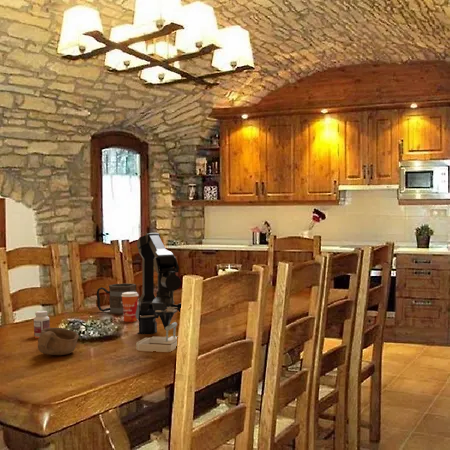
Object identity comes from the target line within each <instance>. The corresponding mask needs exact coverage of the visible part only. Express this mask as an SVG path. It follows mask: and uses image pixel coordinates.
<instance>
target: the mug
mask: <svg viewBox="0 0 450 450" xmlns="http://www.w3.org/2000/svg"><path fill="white" fill-rule="evenodd" d="M108 287H109V290H107V289H106V288H105V287H102V286H101V287H99V288H97V291H96V302H97V308H98V310H99V311H100V312H106V311H109V313H110V314H111V315H120V316H121V315H123V303H122V296H121V295H122V293H124V292H137V284H135V283H127V282H126V283H113V284H108ZM101 290H103V291H104V292H105V293H106V294H109V299H108V302H109V307H107V308H104V309H103V308H102V307H101V297H100V291H101Z"/></svg>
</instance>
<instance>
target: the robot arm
mask: <svg viewBox="0 0 450 450" xmlns="http://www.w3.org/2000/svg"><path fill="white" fill-rule="evenodd" d="M136 248H137V249H138V253H139V256H141V257H140V258H141V259H142V261H141V262H142V265H141V266H142V267H141V268H142V273H141V275H142V280H141V281H142V294H141V296H140V297H139V298H138V305H137V309H136V319H137V320H138V332H137V335H154V334H156V333H157V332H158V322H157V320H156V319H159V318H160V320H161V323H162V325H163V328H164V330H165V327H166V326H168V325H170V324H171V322H172V320H173V317H174V315H175V314H176V313H178V312H180V308H181V302H180V303H177V304H176V303H175V299H174V294H175V291H177V290H179V289H180V287H181V284H182V281H181V278H180V276H178V275H177V273H179V269H180V266H179V264H178V260H177V258H176V256H175V255H174V253H173V252H172V251H170V250H168V249H166V247H165V245H164V243H163V240H162V239H161V234H160V233H159V232H148V233H145V234H144V235H141V236H140V237H139V238H138V239H137V242H136ZM154 269H155V270H154ZM154 271H156V273H157V291H156V293H155V290H154V288H155V287H154V286H155V279H154V278H155V272H154ZM155 294H156V295H155ZM180 313H181V312H180Z"/></svg>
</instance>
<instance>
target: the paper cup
mask: <svg viewBox="0 0 450 450" xmlns="http://www.w3.org/2000/svg"><path fill="white" fill-rule="evenodd" d="M121 296H122V303H123V314H122V315H123V322H126V323H127V322H128V323H130V322H131V323H133V322H137V320H138V319H136V309H137V305H138V303H139V293H138V292H137V291H136V292H124V293H122V295H121Z"/></svg>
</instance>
